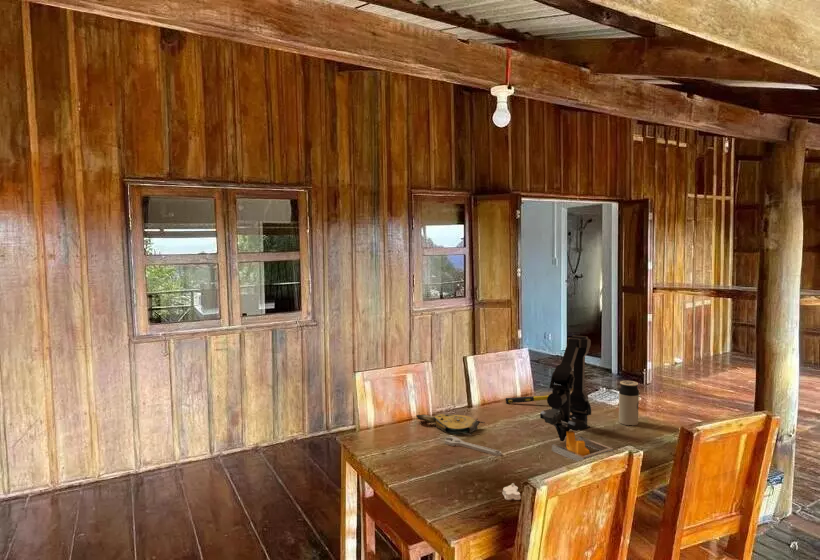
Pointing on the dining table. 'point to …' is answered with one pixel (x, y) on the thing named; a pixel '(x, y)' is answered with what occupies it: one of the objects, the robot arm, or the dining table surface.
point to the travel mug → (628, 403)
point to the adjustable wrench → (470, 446)
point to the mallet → (525, 399)
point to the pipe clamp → (575, 444)
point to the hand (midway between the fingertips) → (561, 440)
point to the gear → (511, 492)
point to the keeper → (578, 457)
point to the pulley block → (452, 423)
